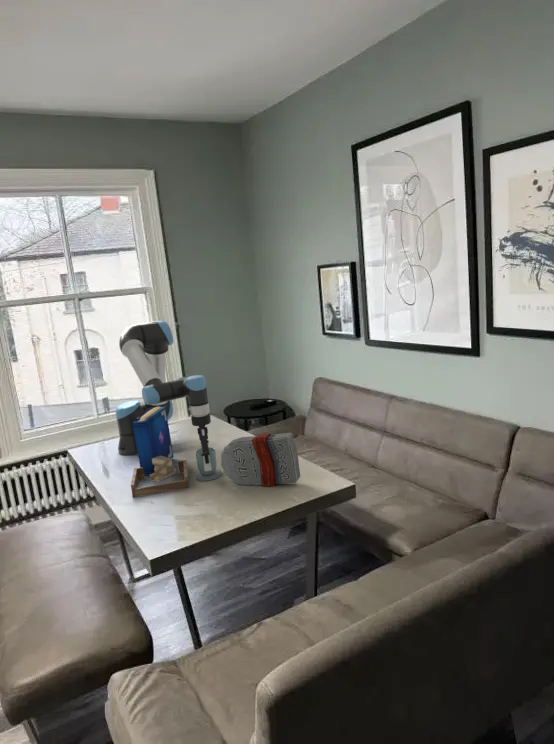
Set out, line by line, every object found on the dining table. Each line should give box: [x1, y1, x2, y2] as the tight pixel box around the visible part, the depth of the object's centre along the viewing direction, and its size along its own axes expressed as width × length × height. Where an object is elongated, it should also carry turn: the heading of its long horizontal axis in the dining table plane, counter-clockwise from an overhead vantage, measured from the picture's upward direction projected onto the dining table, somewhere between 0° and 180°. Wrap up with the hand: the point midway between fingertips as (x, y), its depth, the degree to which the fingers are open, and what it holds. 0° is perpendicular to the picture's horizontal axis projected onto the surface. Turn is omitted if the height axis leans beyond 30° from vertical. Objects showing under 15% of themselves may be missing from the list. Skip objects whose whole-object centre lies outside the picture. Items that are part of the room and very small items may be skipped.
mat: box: [194, 468, 223, 482], centre depth 226 cm, size 11×11×1 cm
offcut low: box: [149, 466, 176, 482], centre depth 231 cm, size 4×10×3 cm, turn 147°
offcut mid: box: [154, 466, 167, 476], centre depth 230 cm, size 4×9×3 cm, turn 9°
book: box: [132, 406, 174, 476], centre depth 240 cm, size 22×7×25 cm, turn 168°
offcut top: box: [152, 456, 173, 468], centre depth 229 cm, size 4×8×3 cm, turn 44°
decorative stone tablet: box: [220, 432, 301, 487], centre depth 210 cm, size 19×6×30 cm
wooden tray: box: [130, 459, 190, 498], centre depth 222 cm, size 19×21×5 cm
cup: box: [195, 446, 218, 476], centre depth 225 cm, size 8×8×10 cm
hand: (207, 464), depth 225 cm, fingers open, 13 cm apart
